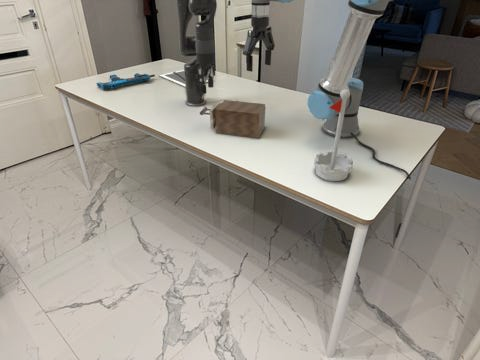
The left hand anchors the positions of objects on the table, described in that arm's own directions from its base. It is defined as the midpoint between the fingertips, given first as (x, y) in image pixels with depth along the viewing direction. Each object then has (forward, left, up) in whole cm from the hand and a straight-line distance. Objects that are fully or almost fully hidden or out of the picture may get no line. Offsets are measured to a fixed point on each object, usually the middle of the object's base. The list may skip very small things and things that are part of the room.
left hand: (207, 90), depth 145 cm
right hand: (+2, +26, +6) cm, 27 cm away
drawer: (+7, +5, -16) cm, 18 cm away
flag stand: (+60, +15, -17) cm, 64 cm away
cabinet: (+12, +9, -17) cm, 22 cm away
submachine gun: (-87, -9, -17) cm, 89 cm away
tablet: (-72, +25, -17) cm, 78 cm away
